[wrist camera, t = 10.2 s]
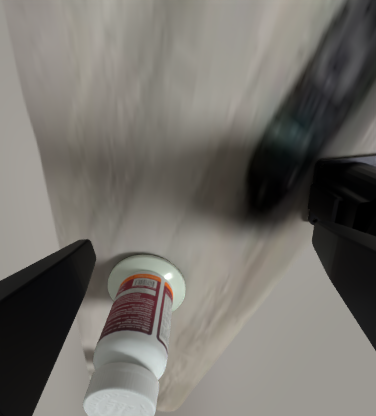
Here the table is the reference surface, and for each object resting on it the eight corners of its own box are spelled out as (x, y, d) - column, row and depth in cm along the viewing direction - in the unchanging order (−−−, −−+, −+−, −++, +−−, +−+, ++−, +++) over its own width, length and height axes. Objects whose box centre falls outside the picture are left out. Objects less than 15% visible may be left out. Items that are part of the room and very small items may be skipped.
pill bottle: (110, 288, 26) (56, 408, 16) (145, 259, 24) (110, 373, 14) (149, 316, 28) (124, 439, 18) (185, 290, 26) (180, 412, 16)
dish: (181, 249, 25) (180, 255, 24) (189, 308, 29) (189, 315, 28) (102, 255, 26) (98, 261, 25) (120, 311, 29) (117, 319, 28)
